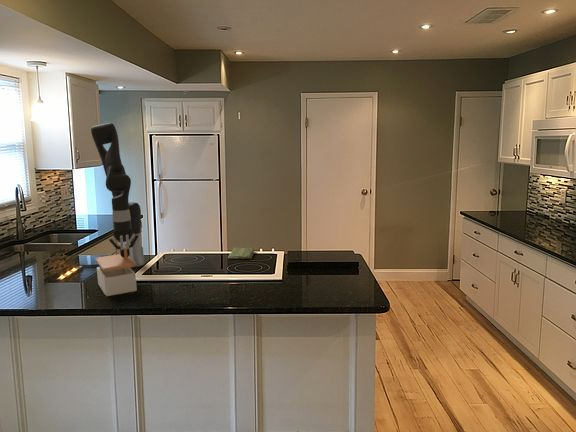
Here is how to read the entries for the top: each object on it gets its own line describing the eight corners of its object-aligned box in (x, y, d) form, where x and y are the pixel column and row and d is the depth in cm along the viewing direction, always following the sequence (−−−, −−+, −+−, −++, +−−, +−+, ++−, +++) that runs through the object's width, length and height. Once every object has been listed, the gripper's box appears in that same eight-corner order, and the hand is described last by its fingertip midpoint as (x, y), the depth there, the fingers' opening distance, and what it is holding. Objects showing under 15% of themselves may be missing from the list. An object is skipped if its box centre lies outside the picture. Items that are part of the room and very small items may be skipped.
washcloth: (226, 260, 264) (226, 254, 263) (233, 252, 281) (233, 246, 280) (251, 260, 262) (250, 254, 262) (256, 252, 280) (255, 246, 279)
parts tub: (127, 279, 234) (125, 262, 232) (136, 290, 217) (135, 273, 215) (98, 284, 228) (96, 267, 226) (105, 296, 210) (104, 278, 209)
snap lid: (126, 257, 232) (124, 242, 231) (136, 267, 215) (134, 252, 214) (95, 262, 226) (94, 247, 224) (103, 272, 208) (102, 257, 207)
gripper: (135, 216, 225) (138, 253, 228) (104, 220, 219) (108, 257, 222) (139, 219, 219) (142, 256, 222) (107, 222, 212) (111, 261, 216)
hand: (125, 257), depth 222 cm, fingers closed on snap lid, 1 cm apart
